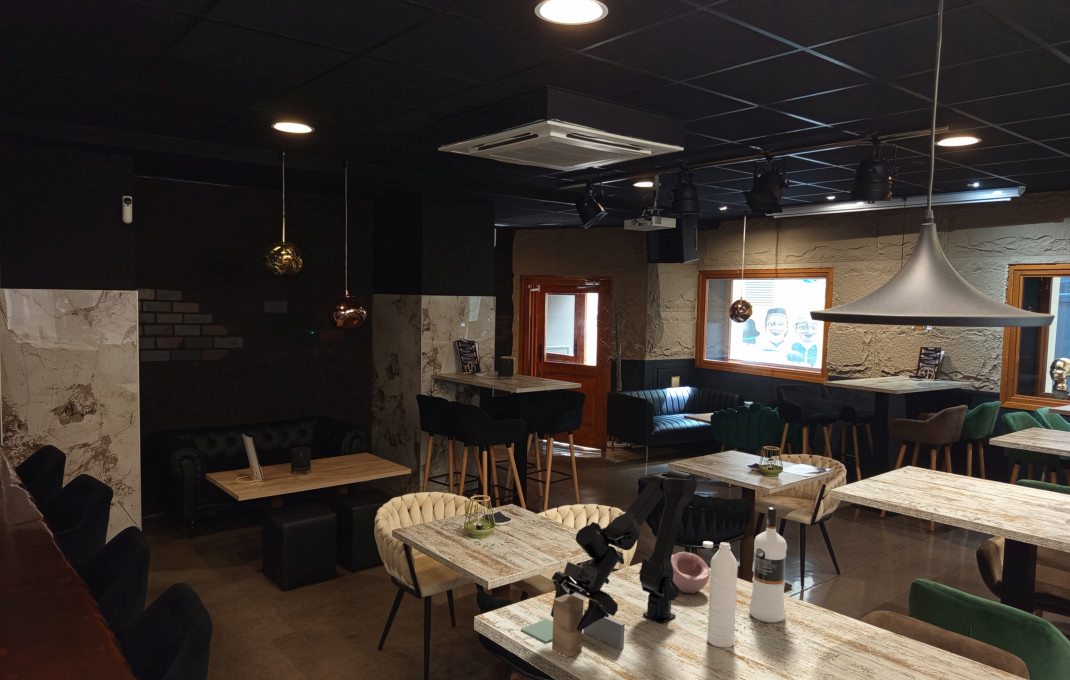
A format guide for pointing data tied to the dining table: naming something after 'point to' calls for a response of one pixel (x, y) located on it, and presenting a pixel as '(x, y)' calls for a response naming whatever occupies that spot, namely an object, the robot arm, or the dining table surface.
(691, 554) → the pink rounded bowl
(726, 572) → the water bottle
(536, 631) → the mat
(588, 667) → the dining table surface
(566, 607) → the letter block
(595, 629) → the gray rectangular block
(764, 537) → the vodka
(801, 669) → the dining table surface
